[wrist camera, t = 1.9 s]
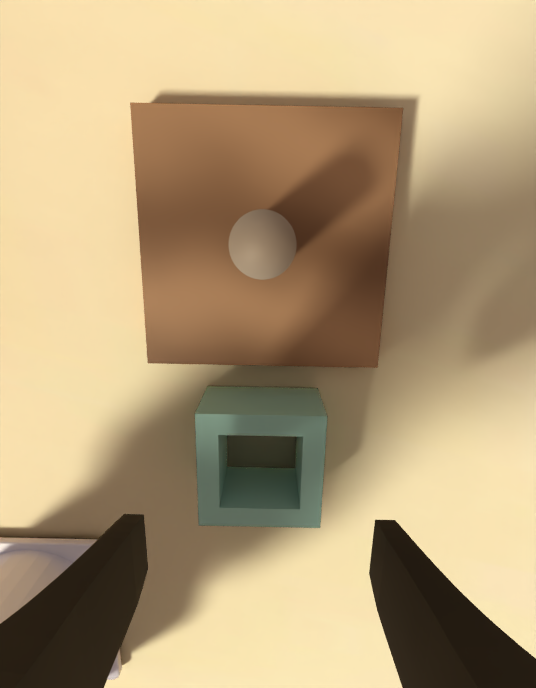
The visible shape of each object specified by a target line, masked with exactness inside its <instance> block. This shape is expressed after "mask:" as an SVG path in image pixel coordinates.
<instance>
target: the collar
mask: <svg viewBox="0 0 536 688" xmlns="http://www.w3.org/2000/svg"><path fill="white" fill-rule="evenodd" d="M326 430H327V414H326V411H325V408H324V405H323V402H322V399H321V396H320V393H319V391H318V388H285V387H234V386H207V388H206V390H205V393H204V395H203V397H202V399H201V401H200V404H199V406H198V408H197V410H196V412H195V433H196V462H197V491H198V520H199V525H201V526H252V527H304V528H320V522H321V507H322V492H323V476H324V461H325V446H326ZM227 435H245V436H297V437H296V461H295V468H265V467H227Z"/></svg>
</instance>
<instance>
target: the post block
mask: <svg viewBox="0 0 536 688" xmlns="http://www.w3.org/2000/svg"><path fill="white" fill-rule="evenodd" d="M130 105H131V120H132V134H133V149H134V164H135V179H136V194H137V209H138V224H139V238H140V253H141V268H142V283H143V298H144V313H145V328H146V342H147V357H148V363H167V364H218V365H270V366H321V367H372V368H377V367H378V356H379V346H380V336H381V326H382V316H383V306H384V296H385V286H386V276H387V266H388V256H389V246H390V235H391V225H392V215H393V205H394V195H395V185H396V175H397V165H398V155H399V145H400V135H401V125H402V115H403V108H380V107H328V106H276V105H224V104H172V103H130Z"/></svg>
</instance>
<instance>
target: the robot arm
mask: <svg viewBox="0 0 536 688" xmlns="http://www.w3.org/2000/svg"><path fill="white" fill-rule="evenodd" d="M147 570H148V562H147V550H146V537H145V525H144V515H137V514H124V515H123V516H122V517H121V518H120V519H119V520H117V521H116V522H115V523H114V524H113V525H112V526H111V527H110V528H109V529H108V530H107V531H106V532H105V533H104V534H103V535H102V536H101V537H100V538H99V539H53V538H2V537H0V688H104V686H105V683H106V681H107V679H116V678H118V676H119V675H120V672H121V669H122V665H121V656H120V647H121V644H122V642H123V639H124V637H125V634H126V632H127V629H128V627H129V624H130V622H131V620H132V617H133V615H134V612H135V610H136V607H137V604H138V601H139V598H140V594H141V591H142V588H143V584H144V581H145V577H146V574H147ZM369 574H370V579H371V584H372V589H373V593H374V598H375V602H376V606H377V611H378V614H379V617H380V620H381V623H382V626H383V629H384V633H385V636H386V639H387V642H388V645H389V648H390V651H391V654H392V657H393V660H394V663H395V666H396V669H397V672H398V675H399V678H400V681H401V684H402V687H403V688H536V659H535V658H534V657H533V656H532V655H531V654H529V653H528V652H527V651H526V650H524V649H523V648H522V647H521V646H520V645H518V644H517V643H516V642H515V641H514V640H513V639H511V638H510V637H509V636H508V635H507V634H506V633H504V632H503V631H502V630H501V629H500V628H499V627H498V626H496V625H495V624H494V623H493V622H492V621H491V620H490V619H489V618H487V617H486V616H485V615H484V614H483V613H482V612H481V611H480V610H479V609H478V608H477V607H476V606H475V605H474V604H473V603H472V602H471V601H469V600H468V599H467V598H466V597H465V596H464V595H463V594H462V593H461V592H460V591H459V590H458V589H457V588H456V587H455V586H454V585H453V584H452V583H451V582H450V580H449V579H448V578H447V577H446V576H445V575H444V574H443V573H442V572H441V571H440V570H439V569H438V568H437V567H436V566H435V565H434V563H433V562H432V561H431V560H430V559H429V558H428V557H427V556H426V555H425V554H424V552H423V551H422V550H421V549H420V548H419V547H418V546H417V545H416V543H415V542H414V541H413V540H412V539H411V538H410V537H409V535H408V534H407V533H406V532H405V531H404V530H403V529H402V528H401V526H400V525H399V524H398V523H397V522H396V521H395V520H375V526H374V535H373V544H372V553H371V562H370V571H369Z"/></svg>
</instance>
